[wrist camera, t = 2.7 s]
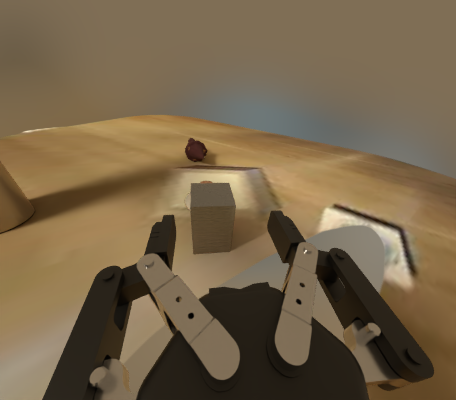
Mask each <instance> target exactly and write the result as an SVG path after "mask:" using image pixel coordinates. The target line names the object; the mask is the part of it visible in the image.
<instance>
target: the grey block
mask: <svg viewBox="0 0 456 400" xmlns="http://www.w3.org/2000/svg"><path fill="white" fill-rule="evenodd" d="M235 208H236V205H235V201H234V198H233V195H232V191H231V188H230V184H229V183H191V203H190V210H191V225H192V240H193V254H204V253H217V252H230V248H231V240H232V232H233V224H234V216H235Z"/></svg>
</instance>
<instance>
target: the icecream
mask: <svg viewBox="0 0 456 400" xmlns="http://www.w3.org/2000/svg"><path fill="white" fill-rule="evenodd" d="M188 142H189V143H188V144H187V146H186V148H185V153H186V155H187V158H188V159H189V160H192V161H194V162H196V161H201V160H202V159H204V157H205V156H206V153H207V149H206V148H205V145H204V144H203V143H201V142H200V141H195V140H194V139H193V138H190V139H189V140H188Z"/></svg>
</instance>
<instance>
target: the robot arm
mask: <svg viewBox="0 0 456 400" xmlns="http://www.w3.org/2000/svg"><path fill="white" fill-rule="evenodd" d="M33 213H34V207H33V206H32V204H31V203H30V202H29V200H28V199H27V197H26V196H25V195H24V193H23V192H22V190H21V189H20V187H19V186H18V185H17V183H16V182H15V181H14V179H13V178H12V176H11V175H10V174H9V172H8V171H7V170H6V168H5V167H4V165H3V164H2V163H1V161H0V233H1V232H4V231H7V230H9V229H11V228H14V227H16V226H18V225H20V224H21V223H23V222H24V221H26V220H27V219H28V218H30V217H31V216H32V215H33ZM267 228H268V232H269V234H270V236H271V238H272V240H273V243H274V245H275V247H276V249H277V251H278V254H279V255H280V258H281V260H282V262H283V263H289V265H290V266H289V268H288V271H287V274H286V278H285V282H284V284H283V288H282V290H281V291H280V290H278V289H276V288H272V287H270V286H269V284H268V282H265V283H257V284H252V285H250V286H248V287H245V288H242V289H235V288H227V287H219V288H210V289H209V294H206V295H204V296H203V297H201V298H200V299H199V300H198V299H197V297H196V296H195V295H194V294H193V293H192V291H191V290H190V289H189V288H188V287H187V285H186V284H185V283H184V282H183V281H182V279H181V278H180V277H179V276H178V275H176V276H175V275H174V274H173V273H172V264H173V256H174V249H175V241H176V226H175V219H174V215H164V216H163V219H162V222H156V223H155V225H154V226H153V227H152V230H151V234H150V238H149V240H148V244H147V247H146V251H145V254H144V256H143V257H142V258H140V260H139V261H138V263H136V264H134V265H132V266H129V267H126V268H123V269H121V268H120V267H118V266H109V267H107V268H105V269H103V270H101V271H100V272H99V273H98V274H97V275H96V277H95V279H94V281H93V284H92V286H91V288H90V290H89V293H88V295H87V297H86V300H85V302H84V304H83V307H82V309H81V311H80V314H79V316H78V318H77V321H76V323H75V325H74V327H73V330H72V332H71V334H70V337H69V339H68V341H67V344H66V346H65V348H64V351H63V353H62V355H61V358H60V360H59V362H58V364H57V367H56V369H55V371H54V374H53V376H52V378H51V381H50V383H49V385H48V388H47V390H46V392H45V395H44V397H43V399H42V400H369V397H368V393H367V387H366V386H370V385H377V386H379V387H380V388H382V389H384V390H386V391H391V390H394V389H397V388H400V387H403V386H406V385H409V384H413V383H416V382H419V381H422V380H425V379H428V378H430V377H432V376H433V374H434V368H433V365H432V363H431V361H430V359H429V358H428V357H427V355H426V354H425V353H424V351H423V350H422V349H421V347H420V346H419V345H418V344H417V342H416V341H415V340H414V338H413V337H412V336H411V335H410V333H409V332H408V331H407V329H406V328H405V327H404V326H403V324H402V323H401V322H400V320H399V319H398V318H397V316H396V315H395V314H394V313H393V311H392V310H391V309H390V307H389V306H388V305H387V304H386V302H385V301H384V300H383V298H382V297H381V296H380V295H379V293H378V292H377V291H376V289H375V288H374V287H373V286H372V284H371V283H370V282H369V280H368V279H367V278H366V277H365V275H364V274H363V273H362V271H361V270H360V269H359V268H358V266H357V265H356V264H355V262H354V261H353V260H352V259H351V257H350V256H349V255H348V254H347V253H346V252H345V251H343V250H341V249H338V248H332V249H331V250H330V251H329V252H325V251H320V250H317V249H316V248H315V247H314V246H313V245H312V244H310V243H307V242H306V241H305V239H304V238H303V236H302V235H301V233H300V232H299V230H298V229H297V227H296V226H295V224H294V223H293V221H292V220H291V219H290V218H289V217H287V216H284V215H283V213H282V211H280V210H279V211H271V213H270V217H269V221H268V225H267ZM339 278H340V279H339ZM317 279H318V281H319V282H320V285H321V286H322V288H323V290H324V292H325V294H326V296H327V298H328V300H329V302H330V303H331V305H332V307H333V309H334V311H335V313H336V315H337V316H338V319H339V320H340V322H341V324H342V326H343V328H344V333H343V337H344V340H345V344H344V343H343V342H341V341H340V340H339V339H338V338H337V337H335V336H334V335H333V334H332V333H331V332H330V331H328V330H327V329H326V328H325V327H324V326H323V325H321V324H320V323H319V322H318V321H317V320H315V319H314V318H313V317H312V311H313V303H314V297H315V289H316V281H317ZM340 280H341V281H340ZM342 283H343V284H342ZM344 286H345V287H344ZM147 294H148V295H149V297H150V299H151V300H152V302H153V303H154V305H155V307H156V308H157V310H158V311H159V313H160V315H161V316H162V318H163V320H164V322H165V324H166V326H167V327H168V329H169V330H170V332H171V334H172V335H173V337H172V338H171V340H170V341H169V343H168V344H167V346H166V347H165V349H164V350H163V352H162V353H161V355H160V356H159V358H158V360H157V361H156V362H155V364H154V366H153V367H152V369H151V370H150V372H149V373H148V375H147V376H146V378H145V379H144V381H143V383H142V385H141V387H140V389H139V392H138V393H131V391H130V388H129V372H128V370H127V368H126V367H125V366H124V365H123V364H122V363H121V362H120V361H119V359H120V355H121V351H122V346H123V342H124V337H125V333H126V328H127V324H128V319H129V315H130V310H131V306H132V301H133V300H135V299H138V298H140V297H142V296H145V295H147Z"/></svg>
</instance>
